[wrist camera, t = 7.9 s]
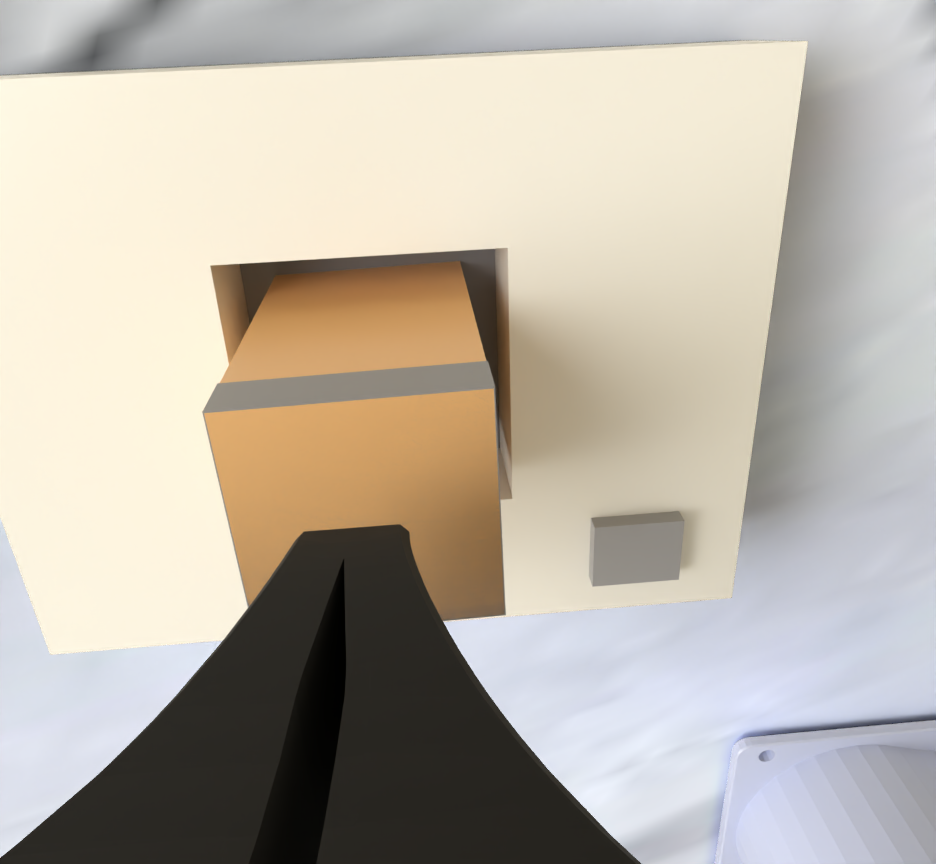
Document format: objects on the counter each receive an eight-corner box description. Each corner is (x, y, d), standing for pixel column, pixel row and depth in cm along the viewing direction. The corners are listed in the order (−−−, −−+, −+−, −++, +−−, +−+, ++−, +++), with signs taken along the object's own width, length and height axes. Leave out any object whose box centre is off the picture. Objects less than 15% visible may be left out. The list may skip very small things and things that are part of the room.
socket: (740, 39, 16) (818, 41, 13) (690, 528, 22) (737, 608, 19) (-61, 77, 15) (-173, 87, 12) (95, 575, 21) (43, 667, 18)
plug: (460, 260, 17) (495, 386, 11) (471, 425, 19) (506, 615, 13) (274, 274, 17) (201, 411, 11) (302, 440, 19) (255, 640, 13)
